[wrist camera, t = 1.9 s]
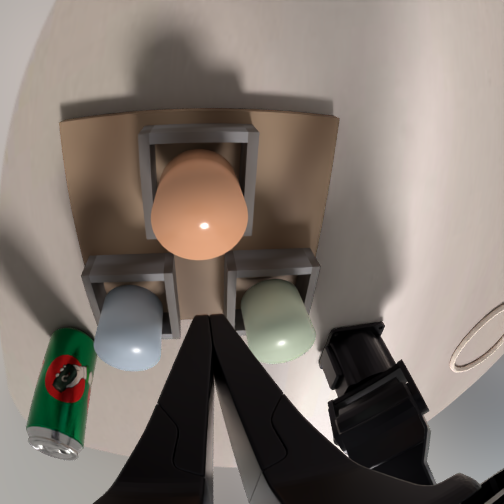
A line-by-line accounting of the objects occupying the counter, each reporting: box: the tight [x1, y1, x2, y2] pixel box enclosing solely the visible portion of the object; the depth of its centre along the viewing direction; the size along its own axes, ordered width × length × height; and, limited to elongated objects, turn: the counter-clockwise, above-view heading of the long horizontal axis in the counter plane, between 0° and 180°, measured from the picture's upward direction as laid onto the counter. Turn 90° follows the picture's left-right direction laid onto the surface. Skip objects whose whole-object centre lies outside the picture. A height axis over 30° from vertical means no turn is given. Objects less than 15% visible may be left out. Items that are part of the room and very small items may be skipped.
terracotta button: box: [151, 149, 248, 260], centre depth 16 cm, size 4×4×4 cm
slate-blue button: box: [94, 285, 163, 371], centre depth 20 cm, size 4×4×4 cm
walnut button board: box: [59, 108, 339, 339], centre depth 21 cm, size 18×16×3 cm
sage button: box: [241, 279, 316, 364], centre depth 22 cm, size 4×4×4 cm
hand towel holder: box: [450, 304, 504, 372], centre depth 41 cm, size 17×4×21 cm
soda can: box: [26, 327, 97, 460], centre depth 22 cm, size 5×5×12 cm
